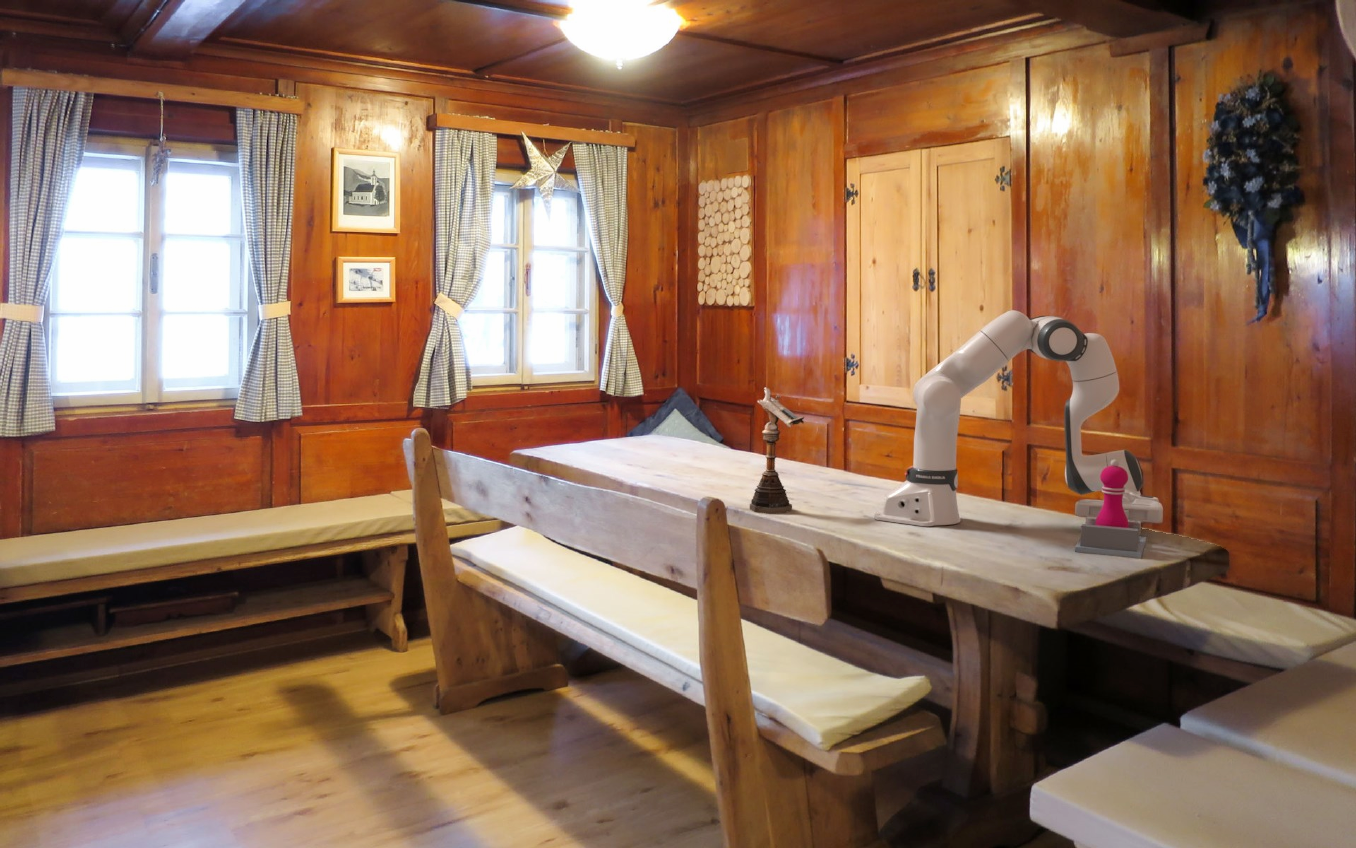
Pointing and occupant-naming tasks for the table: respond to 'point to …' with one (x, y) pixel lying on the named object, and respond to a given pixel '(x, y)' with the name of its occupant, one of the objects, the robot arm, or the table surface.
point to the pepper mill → (1113, 496)
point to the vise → (1110, 541)
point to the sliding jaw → (1131, 524)
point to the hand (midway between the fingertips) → (1116, 516)
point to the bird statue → (772, 460)
